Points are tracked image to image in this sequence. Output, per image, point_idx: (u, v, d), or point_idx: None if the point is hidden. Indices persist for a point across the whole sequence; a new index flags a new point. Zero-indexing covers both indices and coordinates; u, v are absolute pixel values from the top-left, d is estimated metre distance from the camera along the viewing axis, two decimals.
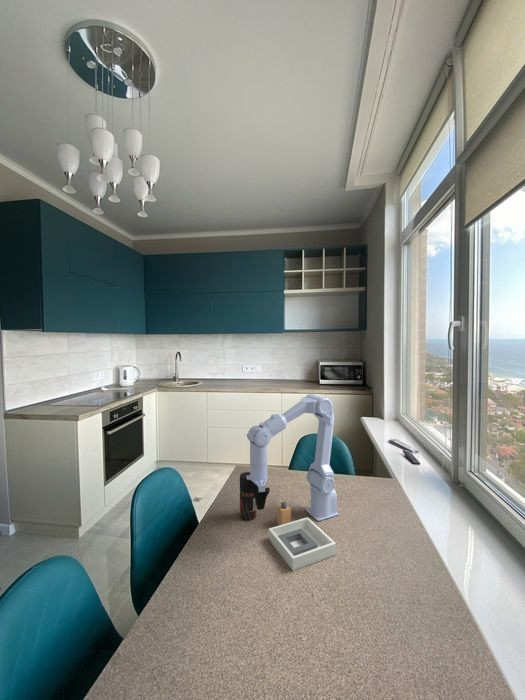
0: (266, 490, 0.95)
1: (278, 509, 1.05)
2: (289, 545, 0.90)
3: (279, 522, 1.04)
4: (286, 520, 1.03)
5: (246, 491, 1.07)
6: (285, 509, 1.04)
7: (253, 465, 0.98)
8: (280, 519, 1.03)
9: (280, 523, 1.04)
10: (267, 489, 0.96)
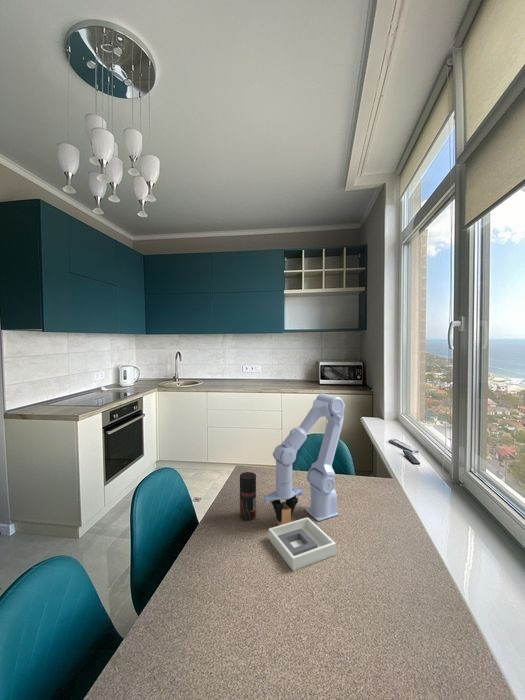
0: (276, 504, 1.02)
1: None
2: (289, 545, 0.90)
3: (279, 522, 1.04)
4: (286, 520, 1.03)
5: (246, 491, 1.07)
6: (285, 509, 1.04)
7: None
8: None
9: (280, 523, 1.04)
10: (278, 504, 1.01)
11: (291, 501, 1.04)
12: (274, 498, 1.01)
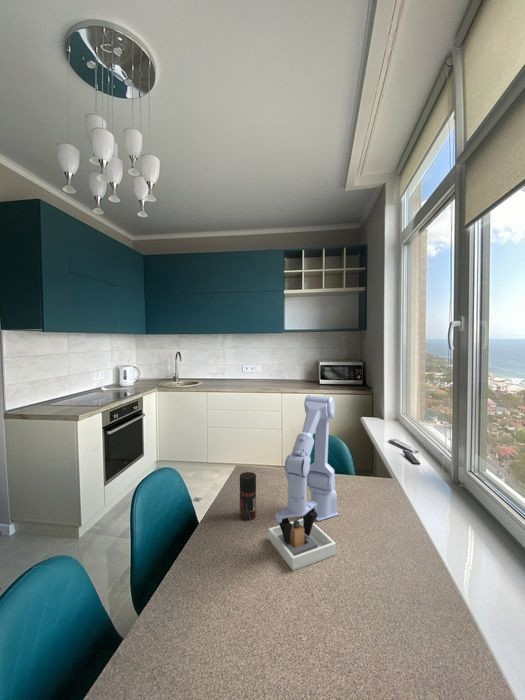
0: (285, 524, 0.88)
1: None
2: (289, 545, 0.90)
3: (291, 544, 0.92)
4: (299, 541, 0.91)
5: (246, 491, 1.07)
6: (298, 529, 0.92)
7: None
8: (293, 541, 0.91)
9: (292, 545, 0.91)
10: (287, 524, 0.88)
11: (310, 516, 0.93)
12: (287, 516, 0.89)
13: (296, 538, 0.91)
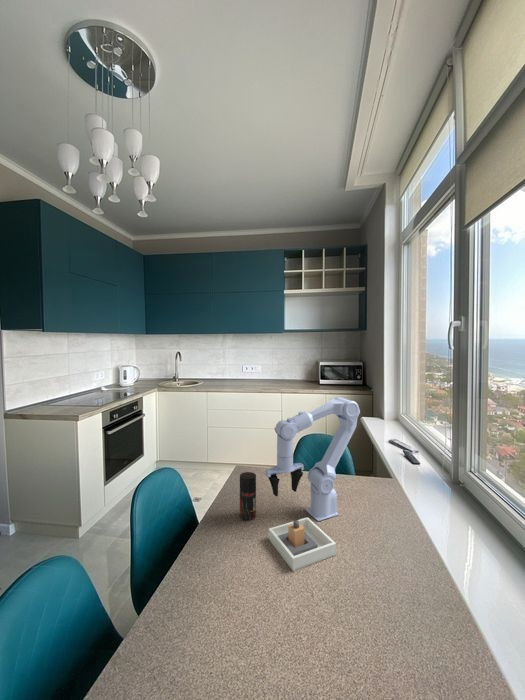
0: (273, 478, 1.03)
1: (290, 529, 0.93)
2: (289, 545, 0.90)
3: (291, 544, 0.92)
4: (299, 541, 0.91)
5: (246, 491, 1.07)
6: (298, 529, 0.92)
7: None
8: (293, 541, 0.91)
9: (292, 545, 0.91)
10: (275, 478, 1.03)
11: (296, 474, 1.07)
12: (275, 471, 1.04)
13: (296, 538, 0.91)
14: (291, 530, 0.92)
